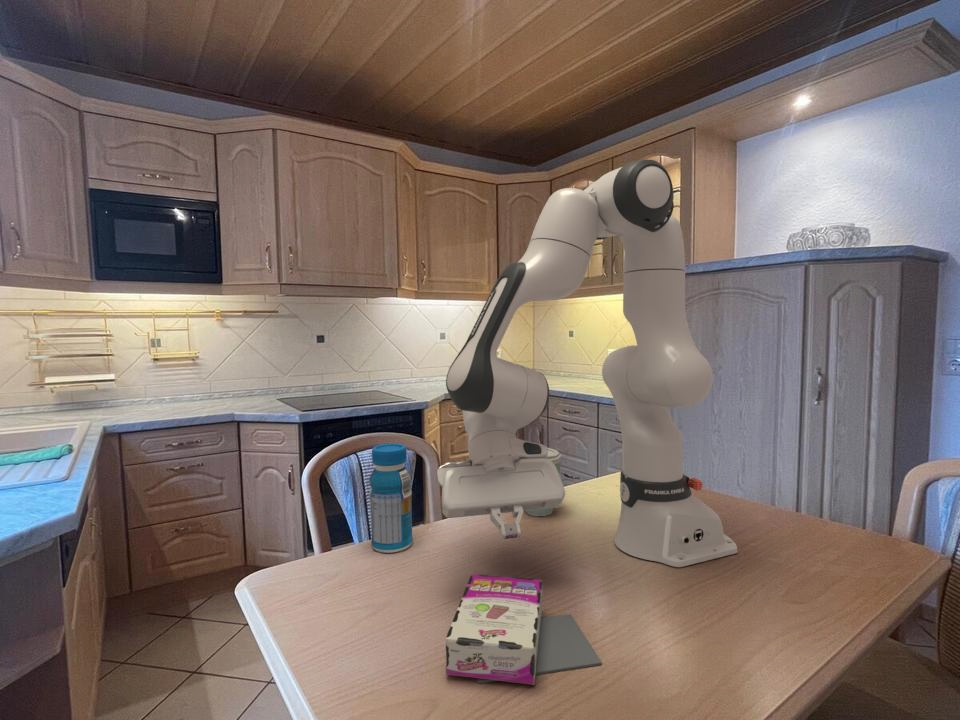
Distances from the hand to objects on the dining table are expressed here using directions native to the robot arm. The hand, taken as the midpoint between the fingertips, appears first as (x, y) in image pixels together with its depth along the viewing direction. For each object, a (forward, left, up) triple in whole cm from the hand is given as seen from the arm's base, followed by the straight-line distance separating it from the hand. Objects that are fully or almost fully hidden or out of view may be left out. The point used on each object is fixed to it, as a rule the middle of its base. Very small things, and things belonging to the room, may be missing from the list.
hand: (511, 537), depth 76 cm
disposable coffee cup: (-16, -36, -11) cm, 41 cm away
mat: (0, +10, -11) cm, 15 cm away
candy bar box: (+1, +1, -8) cm, 8 cm away
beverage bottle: (+18, -26, -11) cm, 34 cm away
